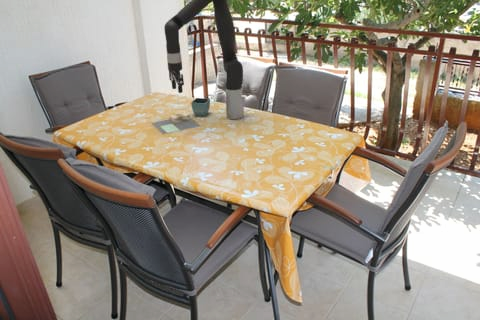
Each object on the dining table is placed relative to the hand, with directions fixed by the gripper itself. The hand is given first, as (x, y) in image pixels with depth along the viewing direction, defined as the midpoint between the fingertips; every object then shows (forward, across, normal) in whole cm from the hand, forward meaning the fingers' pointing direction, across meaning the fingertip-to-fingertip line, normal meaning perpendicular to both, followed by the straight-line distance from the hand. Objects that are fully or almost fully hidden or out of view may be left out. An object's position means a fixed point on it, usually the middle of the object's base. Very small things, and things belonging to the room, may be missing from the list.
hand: (177, 90), depth 221 cm
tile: (+18, 0, 0) cm, 18 cm away
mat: (+18, -4, +4) cm, 19 cm away
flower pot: (+18, +3, -15) cm, 24 cm away
